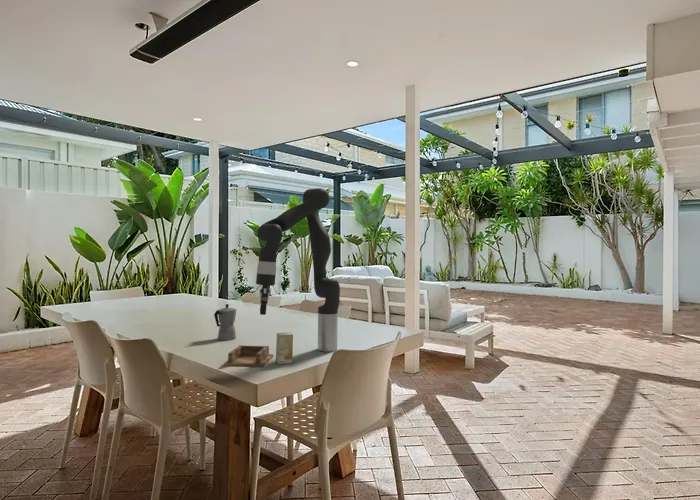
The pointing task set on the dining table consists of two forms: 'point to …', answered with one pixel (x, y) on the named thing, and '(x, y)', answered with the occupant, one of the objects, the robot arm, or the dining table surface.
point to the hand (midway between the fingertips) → (262, 313)
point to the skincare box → (284, 348)
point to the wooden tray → (249, 356)
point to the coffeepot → (226, 323)
